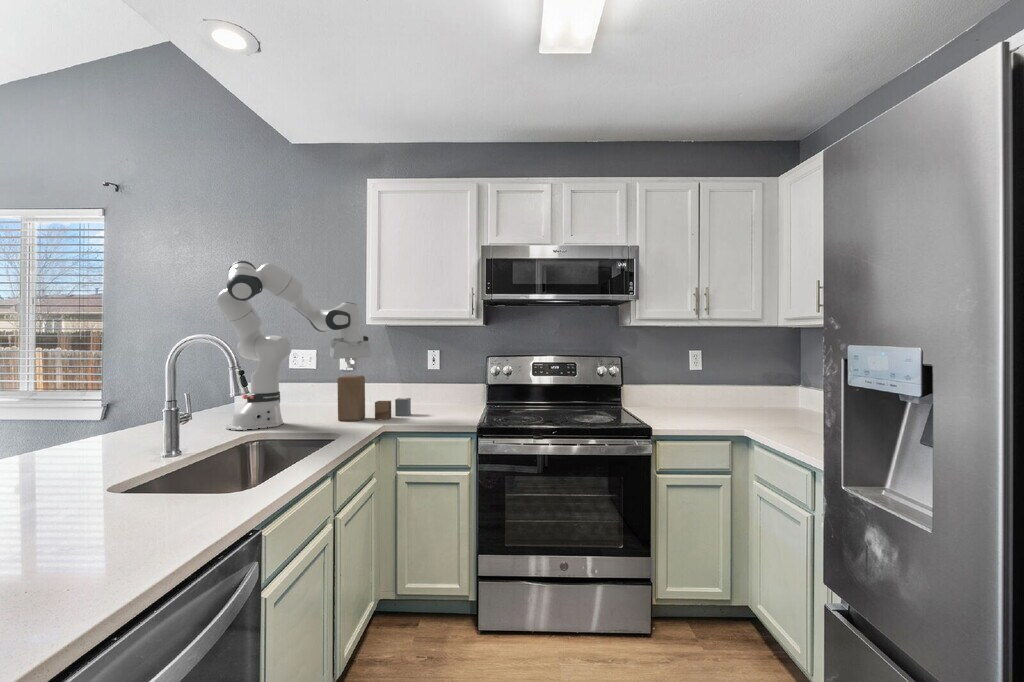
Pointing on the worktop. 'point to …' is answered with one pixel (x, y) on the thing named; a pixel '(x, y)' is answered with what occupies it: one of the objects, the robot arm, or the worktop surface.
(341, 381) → the block
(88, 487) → the worktop surface
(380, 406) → the brown upright block
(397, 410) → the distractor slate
